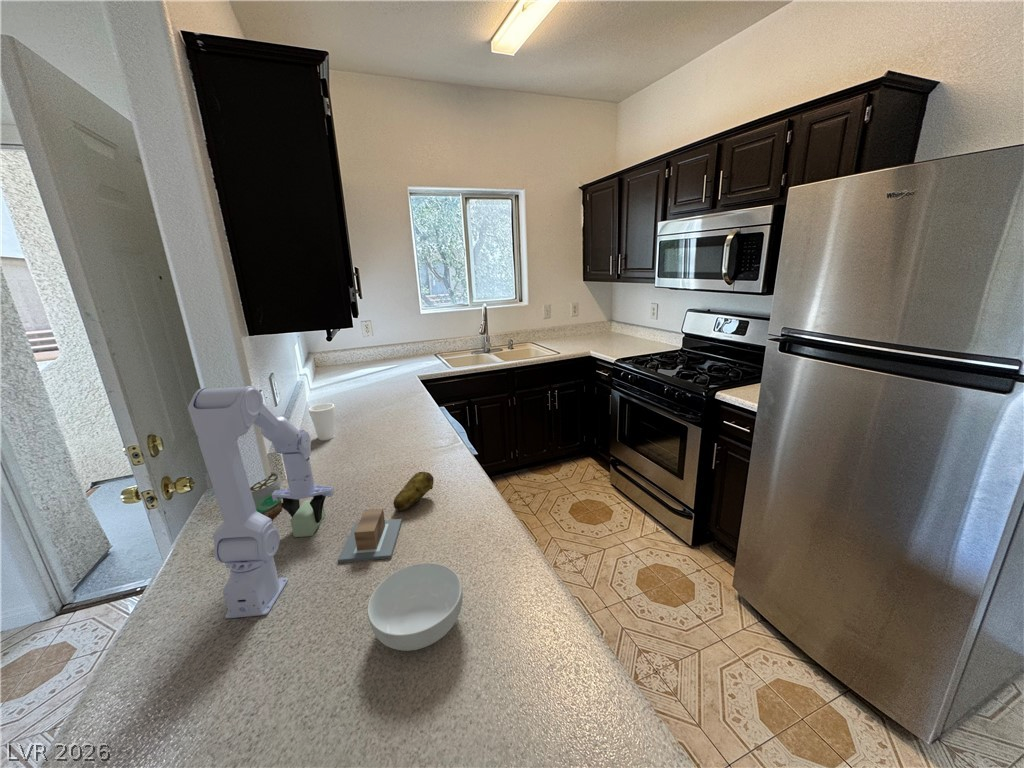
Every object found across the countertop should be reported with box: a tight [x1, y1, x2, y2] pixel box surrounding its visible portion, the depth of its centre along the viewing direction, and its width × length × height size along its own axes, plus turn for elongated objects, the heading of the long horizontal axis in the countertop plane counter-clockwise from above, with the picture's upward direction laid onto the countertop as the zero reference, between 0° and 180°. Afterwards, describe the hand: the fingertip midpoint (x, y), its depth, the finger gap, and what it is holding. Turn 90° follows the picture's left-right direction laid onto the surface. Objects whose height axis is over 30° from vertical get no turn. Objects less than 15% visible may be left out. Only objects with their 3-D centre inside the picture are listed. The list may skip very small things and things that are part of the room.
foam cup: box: [308, 402, 336, 441], centre depth 160 cm, size 10×9×13 cm
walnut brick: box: [354, 508, 386, 551], centre depth 97 cm, size 9×4×5 cm, turn 4°
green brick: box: [289, 499, 326, 538], centre depth 104 cm, size 9×4×5 cm, turn 5°
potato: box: [393, 471, 435, 512], centre depth 113 cm, size 8×13×8 cm, turn 125°
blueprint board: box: [337, 518, 403, 563], centre depth 98 cm, size 14×12×1 cm
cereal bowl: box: [367, 562, 463, 652], centre depth 73 cm, size 17×17×7 cm
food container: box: [250, 471, 283, 520], centre depth 109 cm, size 12×6×10 cm, turn 168°
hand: (309, 521), depth 104 cm, fingers closed on green brick, 4 cm apart
